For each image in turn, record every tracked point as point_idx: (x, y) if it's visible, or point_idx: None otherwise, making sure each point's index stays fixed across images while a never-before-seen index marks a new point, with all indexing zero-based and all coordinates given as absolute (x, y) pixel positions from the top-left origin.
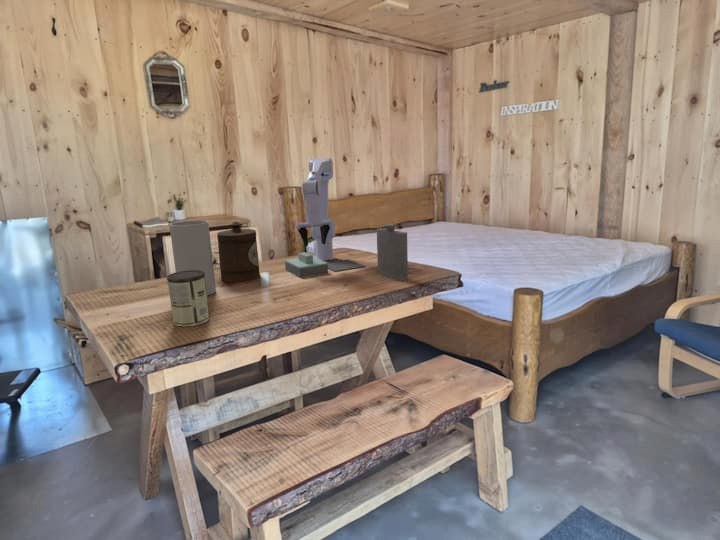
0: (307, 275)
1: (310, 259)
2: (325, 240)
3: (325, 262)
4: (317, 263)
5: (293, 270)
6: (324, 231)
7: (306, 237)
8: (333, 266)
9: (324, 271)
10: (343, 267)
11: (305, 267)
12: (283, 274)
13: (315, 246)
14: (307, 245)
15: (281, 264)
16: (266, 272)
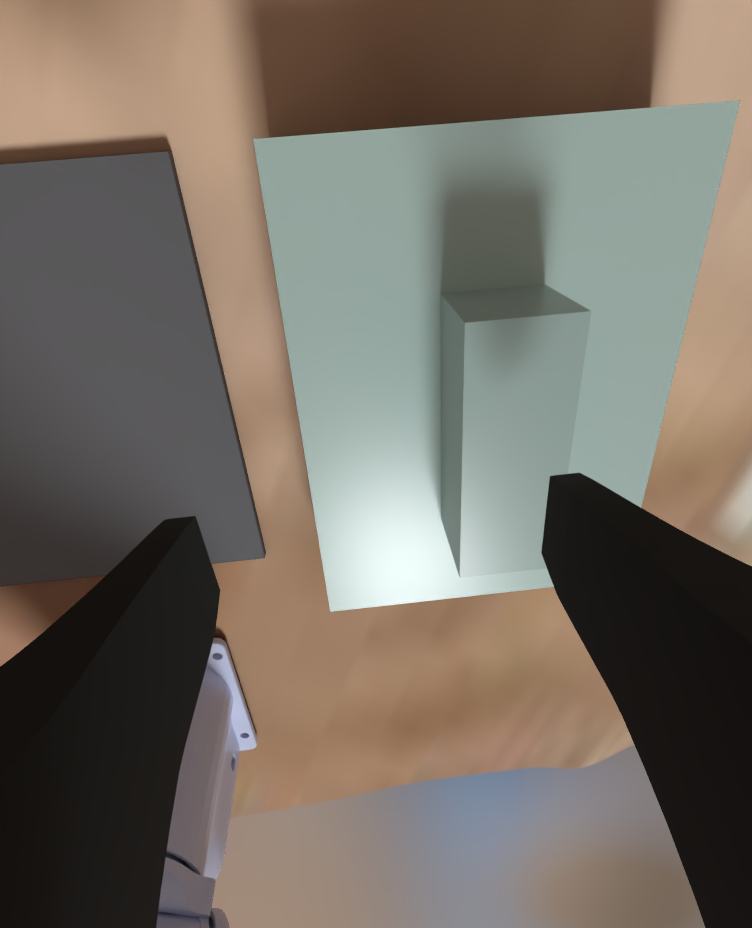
0: None
1: (493, 301)
2: (129, 557)
3: (278, 201)
4: (407, 205)
5: None
6: (30, 773)
7: (713, 577)
8: (146, 393)
9: None
10: (30, 280)
11: (631, 109)
12: (686, 373)
13: (217, 823)
14: (568, 479)
15: (522, 668)
16: (740, 509)
